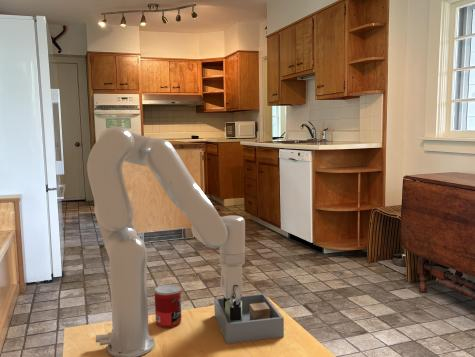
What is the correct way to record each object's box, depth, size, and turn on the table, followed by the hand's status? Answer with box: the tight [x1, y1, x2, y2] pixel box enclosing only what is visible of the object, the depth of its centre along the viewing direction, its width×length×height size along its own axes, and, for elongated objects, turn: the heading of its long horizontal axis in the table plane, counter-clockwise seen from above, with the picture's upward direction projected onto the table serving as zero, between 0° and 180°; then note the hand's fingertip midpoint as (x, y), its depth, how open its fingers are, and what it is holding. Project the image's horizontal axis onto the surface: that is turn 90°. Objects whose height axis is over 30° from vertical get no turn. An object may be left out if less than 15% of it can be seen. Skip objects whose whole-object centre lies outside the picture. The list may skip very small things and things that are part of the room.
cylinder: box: [225, 300, 242, 323], centre depth 131 cm, size 5×5×7 cm
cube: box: [250, 302, 270, 320], centre depth 132 cm, size 5×5×5 cm
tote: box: [213, 293, 285, 345], centre depth 132 cm, size 17×20×6 cm
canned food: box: [154, 283, 182, 329], centre depth 134 cm, size 8×8×11 cm
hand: (232, 313), depth 131 cm, fingers open, 9 cm apart
